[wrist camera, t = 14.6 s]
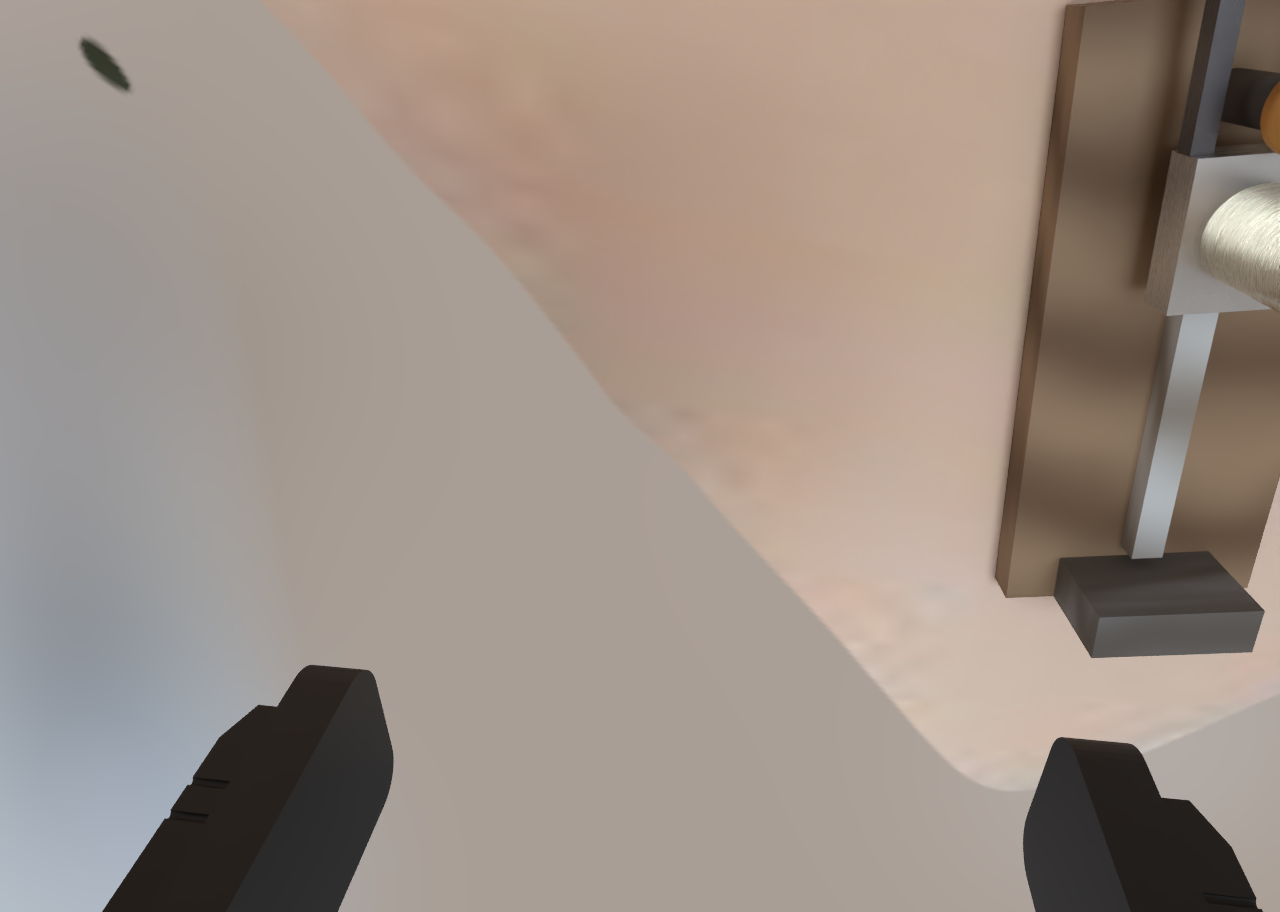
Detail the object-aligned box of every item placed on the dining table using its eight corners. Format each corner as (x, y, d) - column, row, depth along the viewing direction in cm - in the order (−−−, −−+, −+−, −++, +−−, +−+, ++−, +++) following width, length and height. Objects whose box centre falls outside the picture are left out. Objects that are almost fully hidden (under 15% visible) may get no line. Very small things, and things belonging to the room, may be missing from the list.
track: (1066, 5, 29) (1156, 8, 23) (1391, -26, 28) (1561, -30, 22) (995, 577, 39) (1044, 670, 34) (1227, 567, 38) (1316, 660, 33)
